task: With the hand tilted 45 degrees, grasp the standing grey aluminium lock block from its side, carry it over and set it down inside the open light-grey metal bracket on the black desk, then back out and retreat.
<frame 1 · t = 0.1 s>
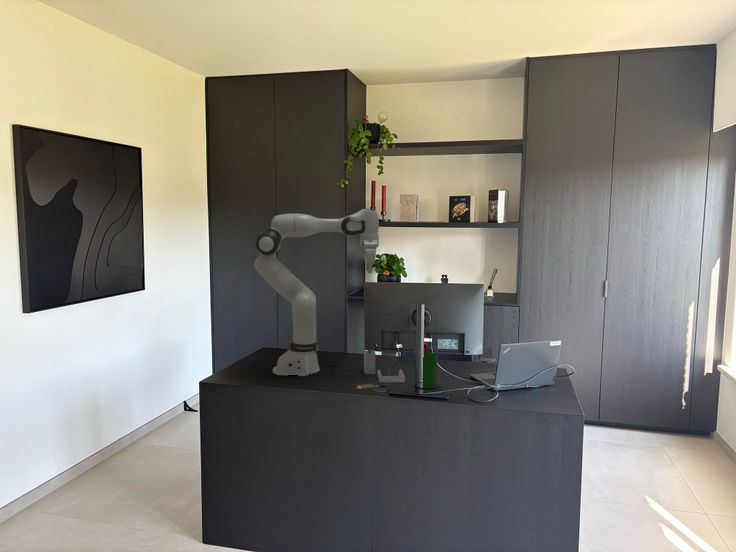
hand: (369, 272, 253), 48 cm above the table, tool pointing down, fingers open, 8 cm apart
bracket: (390, 378, 245), on the table
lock: (369, 372, 254), on the table
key: (366, 387, 232), on the table
green utensil holder: (425, 386, 234), on the table
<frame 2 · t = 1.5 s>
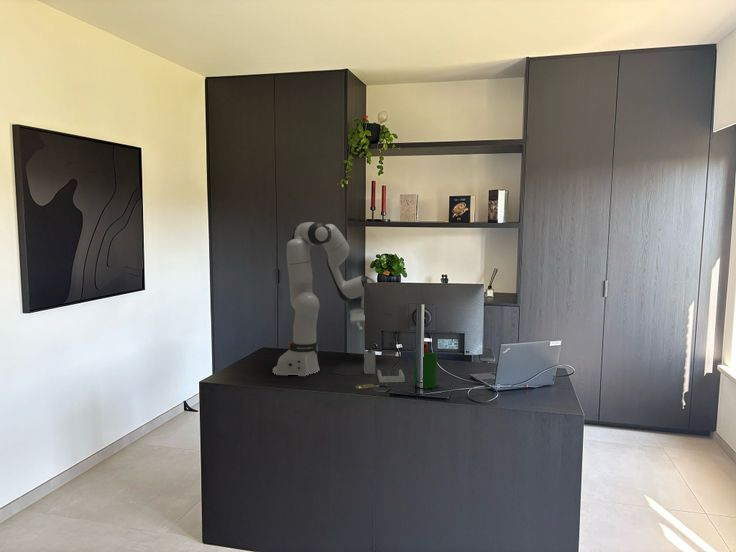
hand: (370, 330, 264), 18 cm above the table, tool tilted 45°, fingers open, 8 cm apart
nothing on the table moved.
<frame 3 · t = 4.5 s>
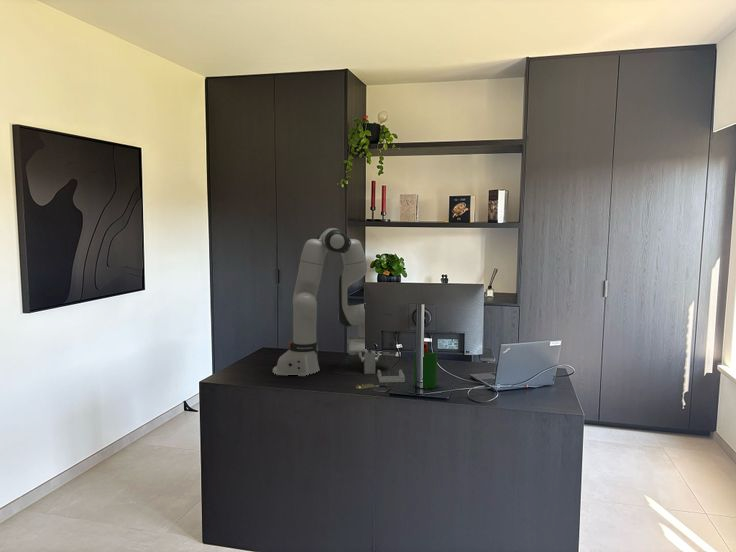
hand: (369, 361, 253), 5 cm above the table, tool tilted 45°, fingers closed on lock, 5 cm apart
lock: (369, 372, 254), on the table, touching gripper
everything else where it was.
when the fingers open (8 cm above the table, at t = 9.5 s): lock drops 2 cm, on the table.
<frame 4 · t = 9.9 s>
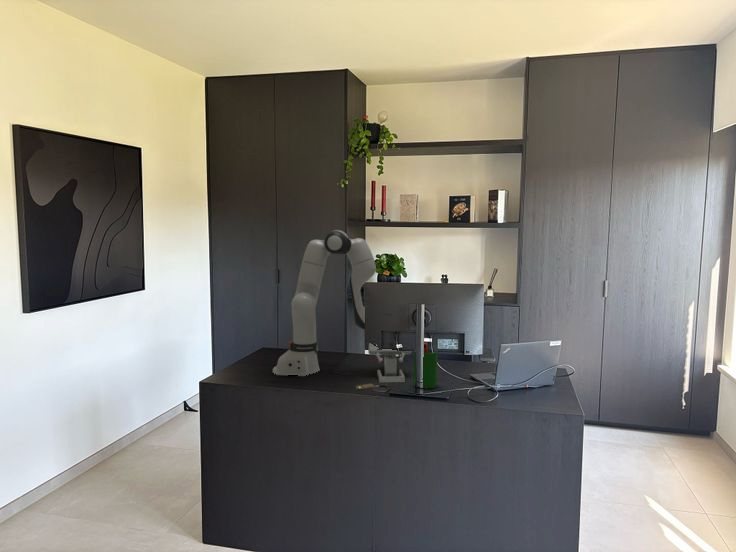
hand: (390, 362, 244), 8 cm above the table, tool tilted 45°, fingers open, 8 cm apart
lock: (390, 378, 245), on the table
everything else where it was.
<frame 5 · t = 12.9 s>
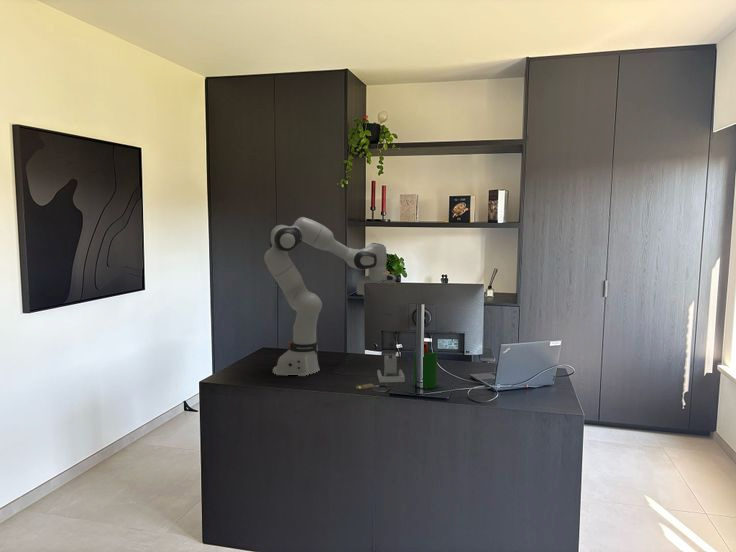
hand: (376, 303, 262), 31 cm above the table, tool pointing down, fingers open, 8 cm apart
nothing on the table moved.
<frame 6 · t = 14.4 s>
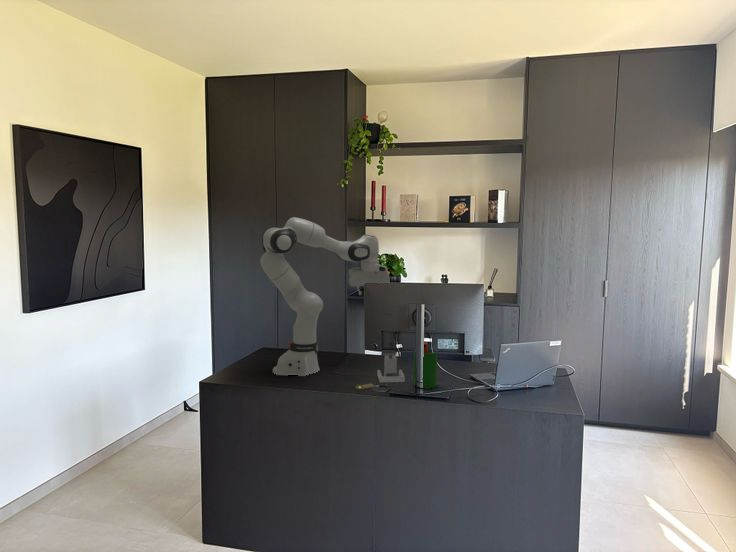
hand: (369, 294, 266), 35 cm above the table, tool pointing down, fingers open, 8 cm apart
nothing on the table moved.
at the end: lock inside the target area (0.1 cm from its centre), on the table; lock tilted 0°; the gripper is holding nothing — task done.
